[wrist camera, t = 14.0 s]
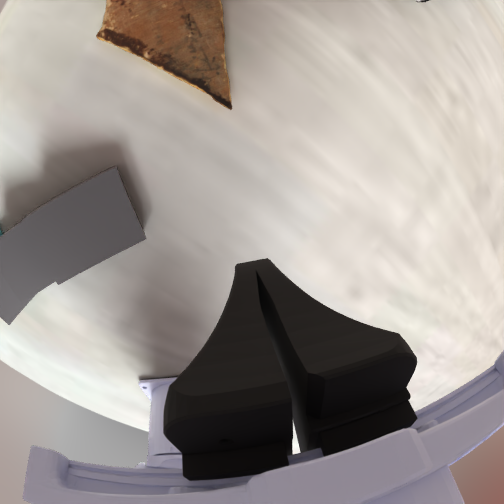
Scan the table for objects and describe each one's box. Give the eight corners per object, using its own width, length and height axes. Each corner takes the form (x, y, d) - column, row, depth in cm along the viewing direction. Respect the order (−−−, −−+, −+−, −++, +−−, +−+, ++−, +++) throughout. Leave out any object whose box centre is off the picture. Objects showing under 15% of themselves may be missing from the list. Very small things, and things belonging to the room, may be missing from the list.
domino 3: (115, 167, 15) (22, 219, 13) (146, 238, 17) (58, 284, 15) (115, 165, 16) (28, 213, 14) (143, 231, 19) (61, 274, 17)
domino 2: (4, 239, 15) (-28, 288, 15) (45, 283, 18) (9, 325, 17) (11, 231, 16) (-22, 279, 16) (50, 273, 19) (13, 314, 19)
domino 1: (55, 198, 15) (-14, 249, 13) (89, 260, 17) (21, 303, 16) (59, 194, 16) (-6, 241, 14) (90, 252, 19) (26, 292, 17)
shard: (230, 109, 16) (233, 109, 14) (113, 131, 15) (104, 134, 14) (216, -33, 11) (217, -45, 9) (102, -9, 10) (93, -17, 8)
